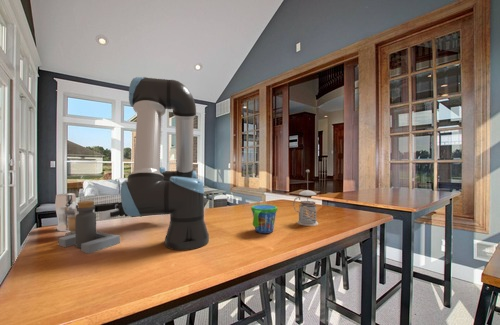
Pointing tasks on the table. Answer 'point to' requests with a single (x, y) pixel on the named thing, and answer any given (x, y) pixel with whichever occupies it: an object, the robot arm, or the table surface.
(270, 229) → the snack cup
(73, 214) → the bobbin
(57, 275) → the table surface
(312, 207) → the french press
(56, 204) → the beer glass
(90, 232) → the bottle
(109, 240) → the notch board
